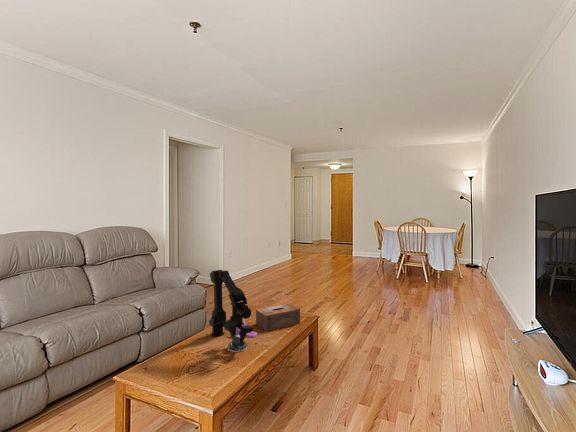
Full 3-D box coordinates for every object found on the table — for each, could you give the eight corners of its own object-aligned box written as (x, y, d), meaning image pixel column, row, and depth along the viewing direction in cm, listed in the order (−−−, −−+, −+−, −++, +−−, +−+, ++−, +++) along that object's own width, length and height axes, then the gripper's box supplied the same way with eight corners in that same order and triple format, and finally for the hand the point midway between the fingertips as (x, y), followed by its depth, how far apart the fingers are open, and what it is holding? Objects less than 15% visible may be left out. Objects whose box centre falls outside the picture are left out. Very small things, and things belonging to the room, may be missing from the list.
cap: (229, 344, 185) (229, 336, 185) (237, 340, 189) (237, 333, 189) (237, 346, 181) (237, 339, 181) (245, 343, 186) (245, 335, 186)
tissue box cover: (288, 317, 236) (288, 303, 236) (300, 323, 224) (300, 308, 223) (256, 324, 222) (255, 309, 222) (266, 331, 210) (266, 315, 210)
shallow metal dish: (223, 348, 184) (223, 344, 184) (237, 341, 193) (237, 338, 193) (237, 353, 177) (237, 349, 177) (251, 346, 186) (251, 343, 186)
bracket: (236, 334, 204) (235, 323, 204) (240, 331, 209) (240, 320, 209) (254, 338, 199) (254, 326, 199) (258, 334, 204) (258, 323, 204)
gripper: (214, 314, 184) (215, 342, 185) (238, 321, 173) (238, 351, 173) (229, 309, 193) (230, 336, 193) (253, 315, 182) (253, 344, 182)
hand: (237, 341), depth 185 cm, fingers closed on cap, 6 cm apart
